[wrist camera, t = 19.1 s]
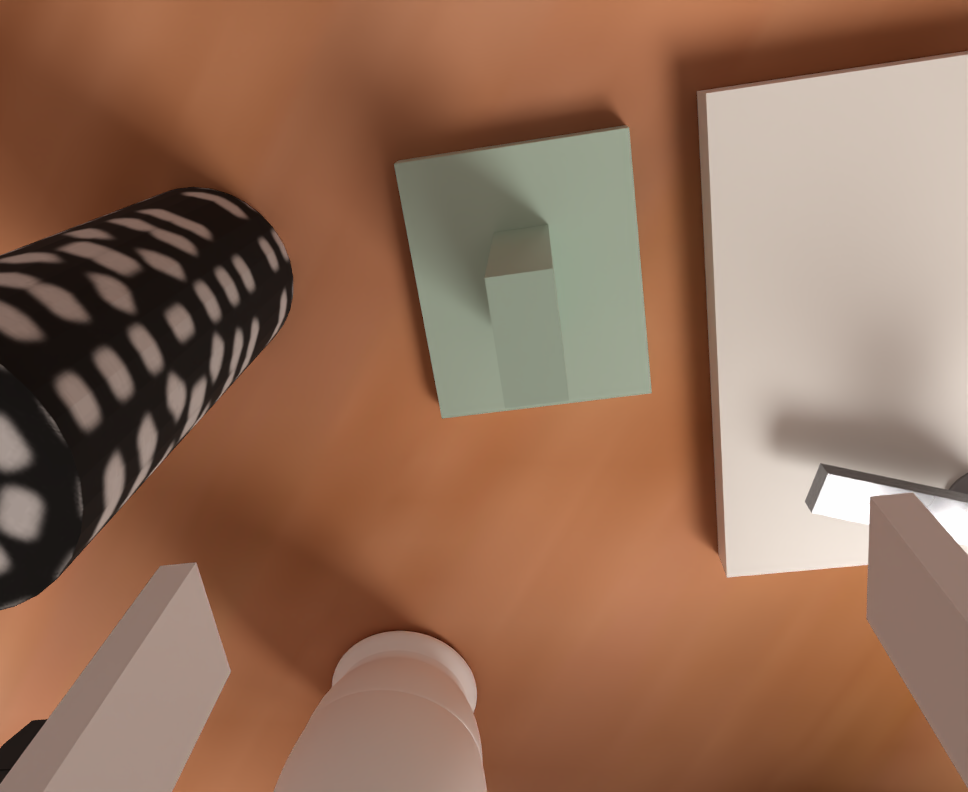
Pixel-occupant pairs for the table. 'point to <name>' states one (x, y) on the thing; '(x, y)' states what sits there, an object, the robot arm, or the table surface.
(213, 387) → the white-spotted black cylinder
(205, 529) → the table surface
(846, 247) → the lock base
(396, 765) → the jar
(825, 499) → the grey angled block piece
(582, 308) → the cover
